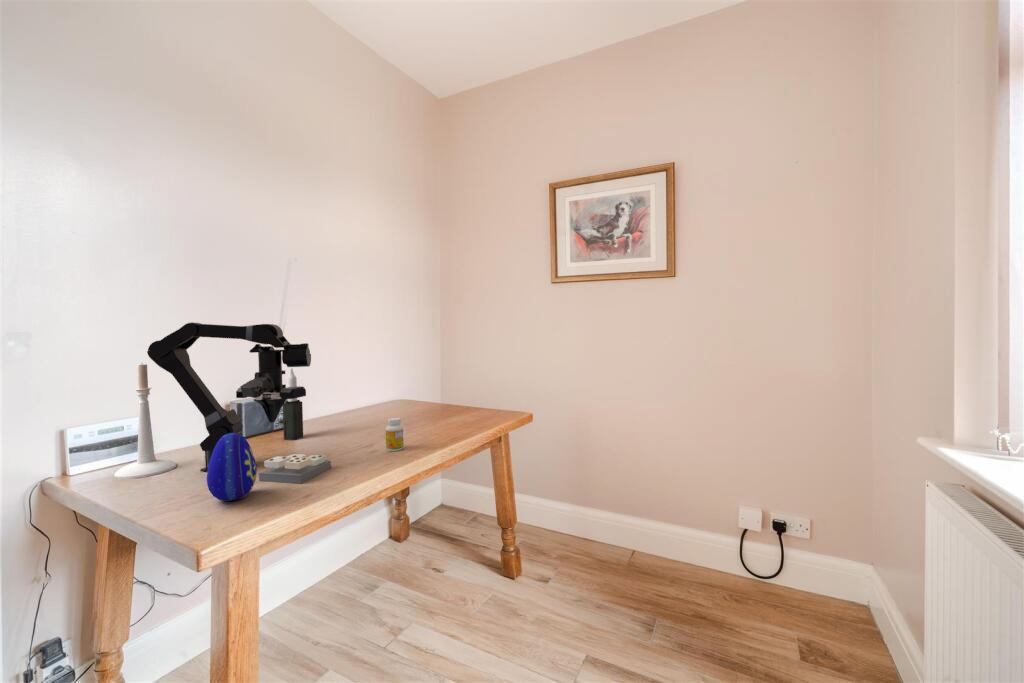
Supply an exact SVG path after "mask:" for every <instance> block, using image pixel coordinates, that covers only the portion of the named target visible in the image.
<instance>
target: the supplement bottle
mask: <svg viewBox="0 0 1024 683" xmlns="http://www.w3.org/2000/svg"><path fill="white" fill-rule="evenodd" d="M401 423H402V419H401V418H400V417H391V418H388V419H387V425H386V427H385V449H386V451H389V452H398V451H401V450H403V449H404V447H405V446H404V445H405V444H404V426H403V425H402V424H401Z"/></svg>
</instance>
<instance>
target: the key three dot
mask: <svg viewBox="0 0 1024 683" xmlns="http://www.w3.org/2000/svg"><path fill="white" fill-rule="evenodd" d="M307 458H311V464H309V465H307V466H317V465H319V464H321V463H323V462H325V461H326V460H327V459H326V455H318V454H312V455H309V456H307Z"/></svg>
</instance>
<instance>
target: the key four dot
mask: <svg viewBox="0 0 1024 683" xmlns="http://www.w3.org/2000/svg"><path fill="white" fill-rule="evenodd" d="M309 464H311V458H299V457H296V458H294V459H291V460H289V461H287V462H285V468H288V469H301V468H303V467H305V466H307V465H309Z"/></svg>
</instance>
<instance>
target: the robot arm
mask: <svg viewBox="0 0 1024 683" xmlns="http://www.w3.org/2000/svg"><path fill="white" fill-rule="evenodd" d="M200 338H211V339H212V338H213V339H234V340H235V339H236V340H244V341H248V342H252V343H256V344H255V345H254V346H253V347H252V348H251V349H249V351H248V352H249V353H258V354H257V357H258V371H256V372H255V373H254V378H253V379H250V380H249V381H247V382H246V383H243V384H242V385H241V386H239V387H238V388H237V390H236V391H235V395H236V398H235V399H247V398H253V402H256V403H258V404H260V406H261V408H262V409H263V410H264V413H265V415H266V417H267V420H268V422H269V423H275V422H276V419H277V418H278V416H279V413H280V412H281V409H282V408H283V404H284V403H285V401H287V400H288V399H295V398H297V399H299V398H303V397H307V390H306V388H305V387H304V386H298V385H297V386H293V387H286V385H287V384H283V375H286V370H283V364H284V365H286V367H287V368H303V367H307V368H308V367H310V366H311V363H312V353H311V351H310V347H309V343H306V342H305V343H298V344H297V343H295V344H294V343H293V344H291V343H290V341H289V340H288V339H287V338H286V337H285V336H284V332H283V330H282V328H281V327H280V326H279V325H277V324H274V323H273V324H272V323H261V324H252V325H226V324H211V323H210V324H209V323H200V322H193V321H192V322H191V321H190V322H187V323H185V324H183V326H181V327H180V328H178V329H177V330H175V331H173V332H171V333H169V334H168V335H166V336H164V337H163V338H162V339H160V340H159V339H158V340H155V341H153V342H152V343H150V345H149V346H148V349H147V351H146V352H147V356H148V357H149V359H150V360H152V361H153V362H154V363H155V364H156V365H157V366H158V367H159V368H161V369H163V370H164V371H165V372H167V373H169V374H171V375H172V376H173V378H174V379H175V381H176V382H177V383H178V384H179V386H180V387H181V388H182V390H183V391H184V393H185V394H186V395H187V396H188V398H189V400H191V402H192V403H193V404H194V406H195V407H196V408H197V409H198V411H199V412H200V414H201V415H202V416H203V418H204V425H205V428H206V430H207V432H208V434H209V435H207V437H205V439H203V440H202V441H201V442H200V443H199V446H200V448H201V451H202V452H204V460H205V461H204V463H205V467H202V468H200V469H199V470H200V472H207V471H208V466H209V462H210V459H211V456H212V453H213V450H214V448H215V446H216V444H217V442H218V441H219V440H220V438H221V437H223V436H224V435H226V434H229V433H237V434H240V435H241V433H242V432H243V425H244V424H243V423H242V421H243V419H242V418H241V417H239V416H238V413H237V412H236V410H235V409H234V408H233V409H230V410H227V409H226V408H223V407H222V405H221V404H220V403H219V401H218V400H217V399H216V397H215V395H213V394H212V392H211V390H209V388H208V387H207V386H206V384H205V383H204V382H203V380H202V379H201V377H200V376H199V375H198V373H197V372H196V370H195V369H194V368H193V367H192V365H191V359H190V354H189V352H188V351H187V350H188V349H189V348H191V347H192V346H193V345H194V344H195V342H197V340H199V339H200ZM262 345H265V346H262ZM267 345H268V346H267ZM269 345H270V346H269ZM275 348H277V349H275ZM278 348H283V349H278Z"/></svg>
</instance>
